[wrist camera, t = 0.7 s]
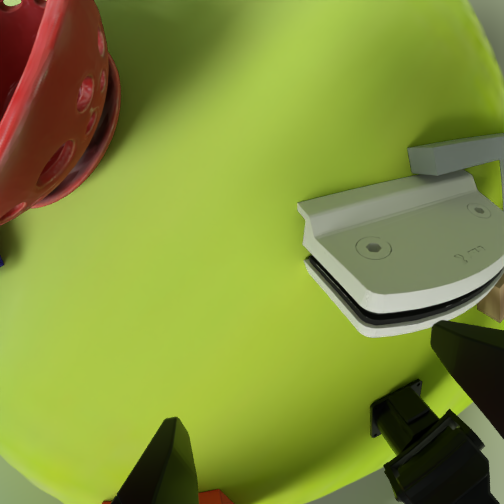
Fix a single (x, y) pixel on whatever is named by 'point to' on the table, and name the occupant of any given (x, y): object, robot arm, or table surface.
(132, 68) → the table surface
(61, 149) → the plant pot
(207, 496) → the file binder
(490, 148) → the channel jig
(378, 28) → the table surface
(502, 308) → the spacer block
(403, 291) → the hinge
